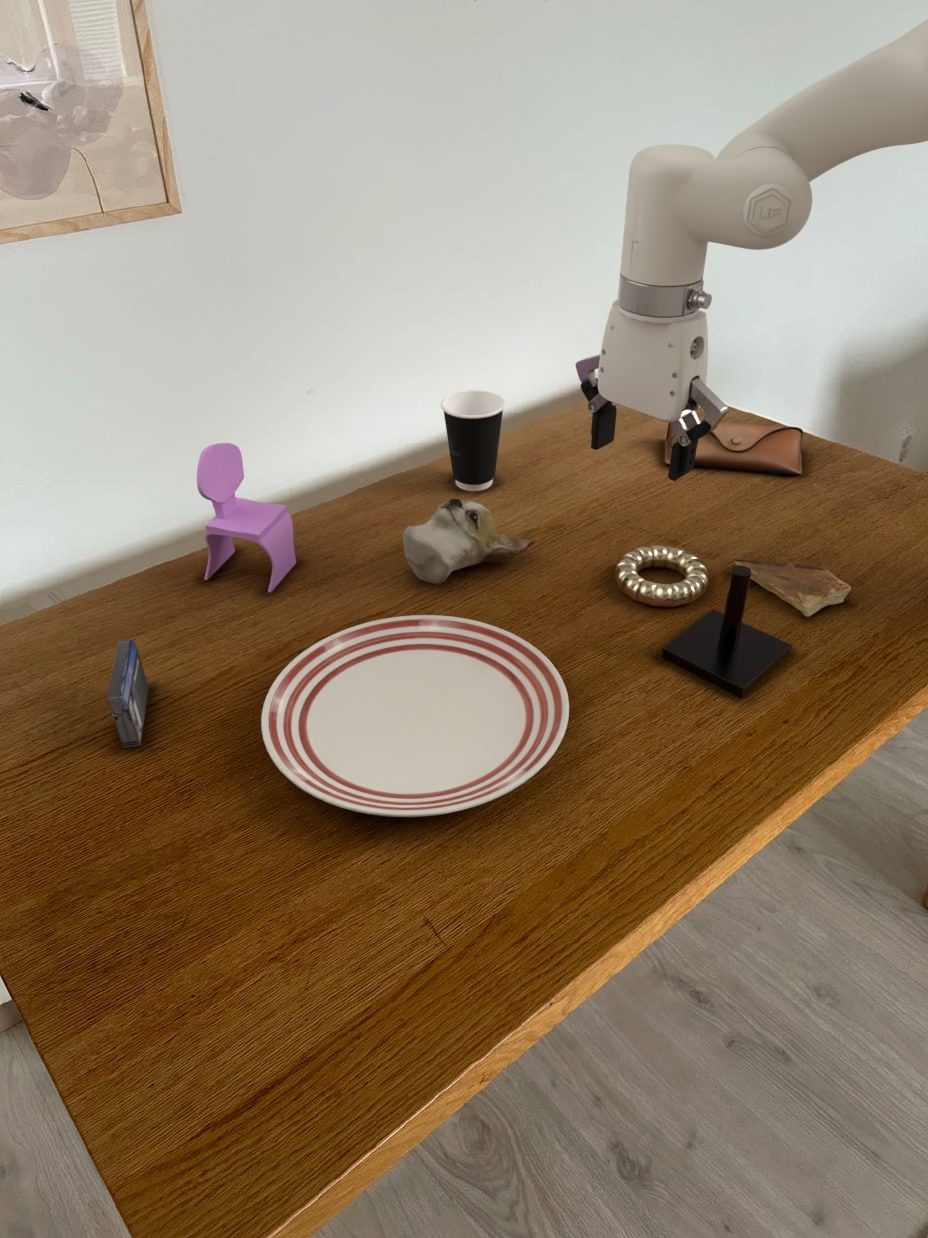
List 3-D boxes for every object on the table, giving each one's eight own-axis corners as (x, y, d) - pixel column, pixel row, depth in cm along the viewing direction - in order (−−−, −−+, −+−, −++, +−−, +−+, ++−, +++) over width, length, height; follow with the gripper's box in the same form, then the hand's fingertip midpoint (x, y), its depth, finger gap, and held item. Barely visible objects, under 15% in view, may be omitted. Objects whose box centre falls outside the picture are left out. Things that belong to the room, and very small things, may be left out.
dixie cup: (430, 484, 126) (427, 405, 119) (469, 461, 131) (468, 383, 124) (479, 503, 122) (478, 422, 115) (517, 478, 127) (518, 399, 120)
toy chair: (270, 598, 106) (250, 475, 97) (199, 585, 108) (173, 463, 100) (304, 558, 112) (288, 439, 103) (236, 546, 115) (215, 429, 106)
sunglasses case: (663, 464, 128) (669, 412, 128) (662, 467, 135) (667, 418, 134) (806, 475, 125) (813, 422, 125) (797, 478, 132) (803, 428, 132)
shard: (731, 570, 109) (733, 556, 108) (781, 550, 112) (784, 537, 111) (803, 619, 102) (806, 605, 101) (855, 597, 105) (859, 583, 104)
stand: (789, 654, 97) (810, 568, 91) (741, 698, 92) (759, 610, 86) (711, 617, 102) (725, 534, 96) (661, 657, 97) (673, 571, 91)
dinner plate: (235, 678, 95) (229, 651, 93) (490, 609, 104) (491, 583, 102) (314, 888, 75) (309, 859, 73) (624, 781, 84) (627, 753, 82)
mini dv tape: (140, 746, 88) (125, 696, 84) (123, 748, 88) (107, 698, 84) (148, 688, 94) (135, 638, 91) (132, 689, 94) (118, 640, 91)
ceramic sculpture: (375, 499, 105) (479, 462, 114) (376, 567, 110) (475, 528, 119) (438, 539, 99) (543, 497, 107) (436, 610, 104) (537, 564, 112)
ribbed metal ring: (725, 582, 107) (728, 564, 106) (671, 623, 102) (674, 604, 100) (649, 549, 113) (651, 531, 112) (595, 585, 107) (596, 567, 106)
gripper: (763, 305, 88) (732, 475, 98) (608, 265, 98) (595, 423, 108) (717, 327, 84) (690, 502, 94) (560, 282, 93) (551, 445, 104)
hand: (639, 459), depth 101 cm, fingers open, 9 cm apart
